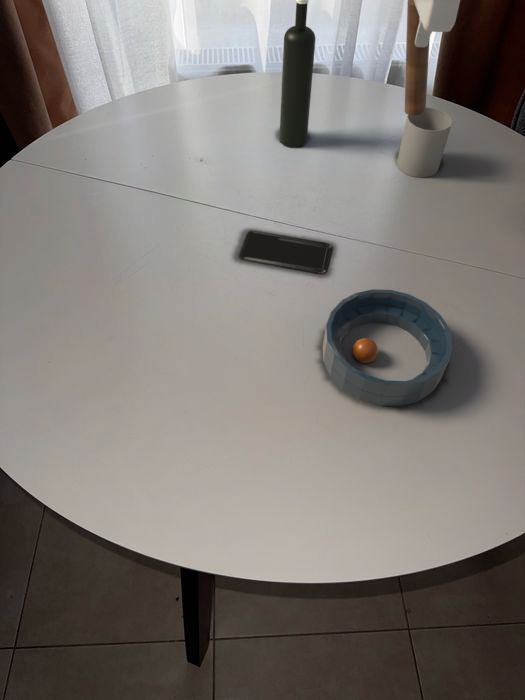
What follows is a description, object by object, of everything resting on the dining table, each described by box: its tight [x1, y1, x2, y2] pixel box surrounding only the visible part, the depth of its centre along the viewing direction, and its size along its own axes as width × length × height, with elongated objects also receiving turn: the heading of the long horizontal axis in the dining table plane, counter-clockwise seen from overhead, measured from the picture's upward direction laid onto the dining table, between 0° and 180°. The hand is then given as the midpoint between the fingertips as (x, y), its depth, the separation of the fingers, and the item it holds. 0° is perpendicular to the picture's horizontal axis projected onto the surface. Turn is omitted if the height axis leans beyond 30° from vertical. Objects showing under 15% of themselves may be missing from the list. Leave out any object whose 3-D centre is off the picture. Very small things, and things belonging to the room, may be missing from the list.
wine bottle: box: [279, 0, 316, 149], centre depth 110 cm, size 6×6×30 cm
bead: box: [352, 337, 379, 364], centre depth 83 cm, size 4×4×4 cm
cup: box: [396, 106, 453, 179], centre depth 113 cm, size 8×8×10 cm
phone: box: [237, 229, 333, 275], centre depth 99 cm, size 8×1×15 cm
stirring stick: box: [404, 0, 431, 116], centre depth 85 cm, size 3×3×16 cm
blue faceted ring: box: [322, 288, 454, 407], centre depth 83 cm, size 17×17×6 cm
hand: (417, 37), depth 83 cm, fingers closed on stirring stick, 3 cm apart
